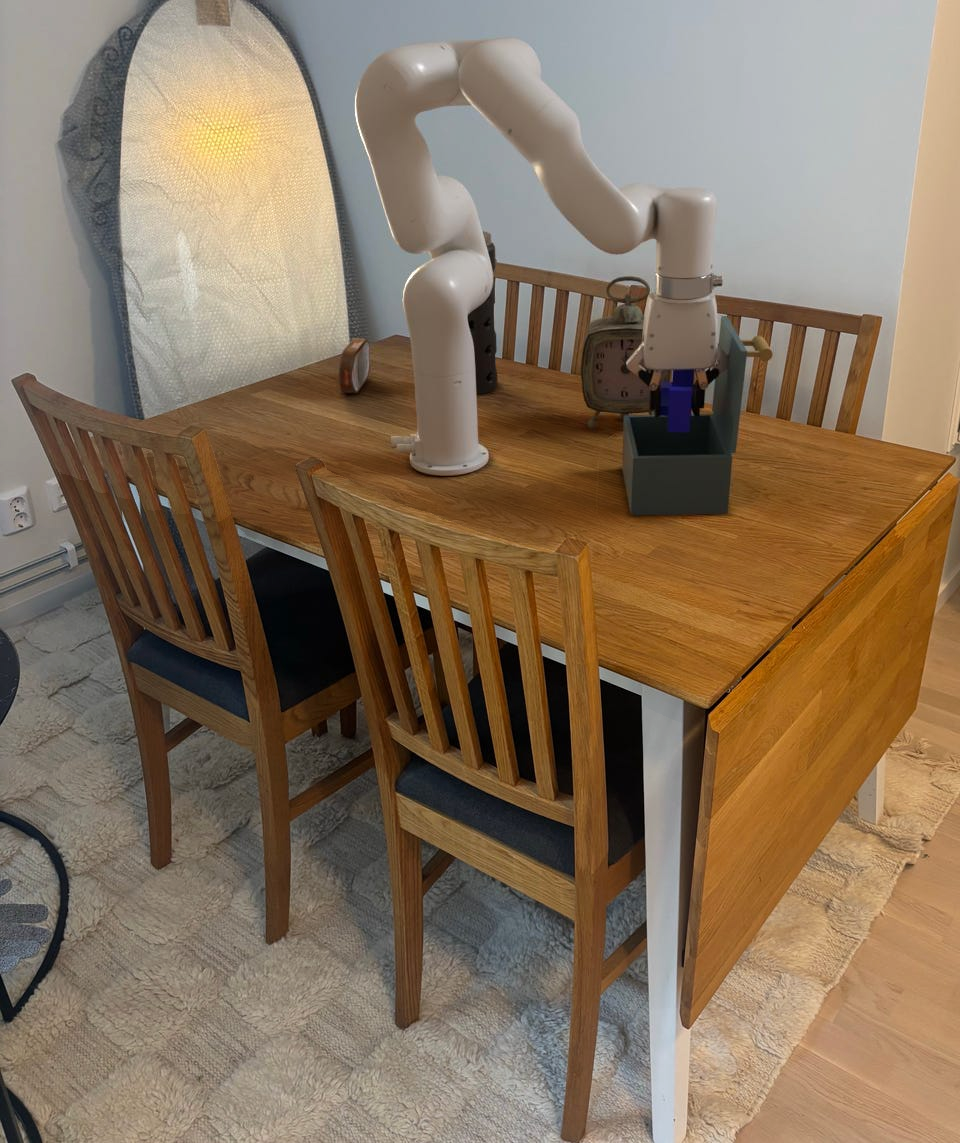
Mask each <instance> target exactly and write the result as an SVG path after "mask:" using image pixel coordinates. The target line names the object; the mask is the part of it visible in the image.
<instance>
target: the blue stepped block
mask: <svg viewBox="0 0 960 1143" xmlns="http://www.w3.org/2000/svg"><path fill="white" fill-rule="evenodd" d="M694 381H695V369H694V370H672V381H669V382H662V386H661V412H660V416H668V425H667V432H687V433H689V430H690V420H691V414H692V394H693V384H694V383H695V382H694Z"/></svg>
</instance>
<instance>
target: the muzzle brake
mask: <svg viewBox="0 0 960 1143" xmlns="http://www.w3.org/2000/svg"><path fill="white" fill-rule="evenodd" d="M482 232H483V235H484V239H485V243H486V246H487V250H488V254H489V257H490V261H491V265H492V271H493V273H494V272H495V270H496V268H497V267H496V266H497V262H496V246H495V244H494V242H492V234H491V233H490V232H488V231H484V230H482ZM495 285H496V284H495V279H494V278H493V287H492V290H491V293H490V295H489V297H488V298H487V299H486V301H485V302H484V303H483V304H481V305H480V306H479V307H477V308H476V309H474V310H473V311H471V312H470V313H469V314H468V325H469V329H470V332H471V336H472V339H473V345H474V354H475V373H476V396H480V395H487V394H491V393H492V392H494V391H496V390H497V388H498V387H499V383H498V369H497V364H496V353H497V351H498V348H497V347H498V346H497V332H496V330H495V308H494V307H495V304H496V286H495Z"/></svg>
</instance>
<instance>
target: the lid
mask: <svg viewBox="0 0 960 1143" xmlns="http://www.w3.org/2000/svg"><path fill="white" fill-rule="evenodd" d="M718 344H719V345H720V346H721V348H722V349H723V350H724V352H725V353H726V354H727V355H728V357H729V363H728V369H726V370H725V371H724V372H722V373H720V374H719V376H718V377H717V378H716V379H714V386H713V396H712V406H711V411H712V414H714V416H715V419H716V421H717V423H718V426H719V428H720V430H721V433H722V435H723V438H724V440H725V442H726V445H727V447H728V449H729V452H730V453H731V454H736V453H737V445H738V439H739V438H738V436H739V430H740V429H739V428H740V420H741V419H740V418H741V410H742V399H743V394H744V383H745V376H746V365H747V358H759V359H760V361H762V362H768V361H770V360H772V358H773V355H774V353H773V350H772V349H771V347H770V345H769V343H768V342H767V341H766V339H765V338H764V337H763V336H762V335H756V336H754V337H753V338H752V339H741V338H740V337H739V334H738V333H737V331H736V330H735V328H734V326H733V324H732V322H731V320H730V319H729V317H728V316H727V315H721V316H720V326H719V334H718ZM746 347H753V349H754V350H747V348H746ZM718 361H719V359H718V358H717V360H716V363H717V362H718Z"/></svg>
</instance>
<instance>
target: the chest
mask: <svg viewBox="0 0 960 1143" xmlns="http://www.w3.org/2000/svg"><path fill="white" fill-rule="evenodd" d="M667 425H668V416H659V417H655V415H650V414H629V415H624V419H623V424H622V426H623V429H622V456H621V457H622V460H621V470H622V475H623V481H624V485H625V491H626V495H627V501H628V506H629V511H630V516H680V515H681V516H682V515H683V516H685V515H689V516H690V515H728V514H729V502H730V492H731V481H732V480H731V479H732V468H733V453H730V452H729V449H728V447H727V445H726V442H725V440H724V438H723V435H722V433H721V430H720V428H719V426H718V423H717V421H716V419H715V416H714V414H713V413H700V415H699V416H694V414H693V413H691V420H690V430H689V433H687V432H667Z"/></svg>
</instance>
